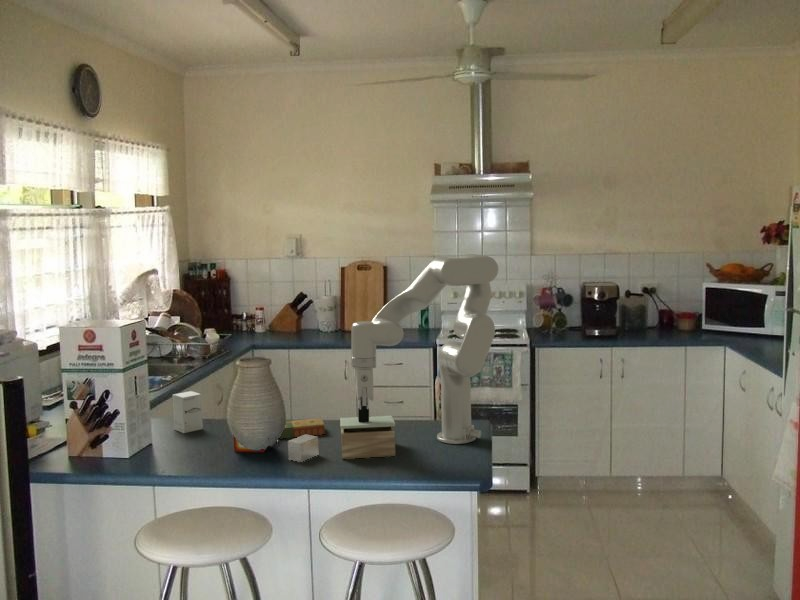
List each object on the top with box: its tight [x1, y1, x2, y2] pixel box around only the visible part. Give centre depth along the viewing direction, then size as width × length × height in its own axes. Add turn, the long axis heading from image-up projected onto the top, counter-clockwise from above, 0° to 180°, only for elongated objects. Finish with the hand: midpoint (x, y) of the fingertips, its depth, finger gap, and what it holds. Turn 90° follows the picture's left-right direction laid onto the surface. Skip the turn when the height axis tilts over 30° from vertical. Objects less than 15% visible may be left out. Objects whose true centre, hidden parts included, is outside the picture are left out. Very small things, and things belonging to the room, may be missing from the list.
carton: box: [279, 417, 326, 440], centre depth 263 cm, size 8×16×4 cm, turn 103°
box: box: [340, 426, 396, 460], centre depth 242 cm, size 14×16×8 cm
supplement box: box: [171, 390, 204, 434], centre depth 270 cm, size 7×7×13 cm
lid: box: [339, 415, 396, 430], centre depth 242 cm, size 14×16×1 cm
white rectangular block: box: [287, 434, 320, 463], centre depth 237 cm, size 5×8×6 cm, turn 145°
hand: (363, 421), depth 240 cm, fingers closed
